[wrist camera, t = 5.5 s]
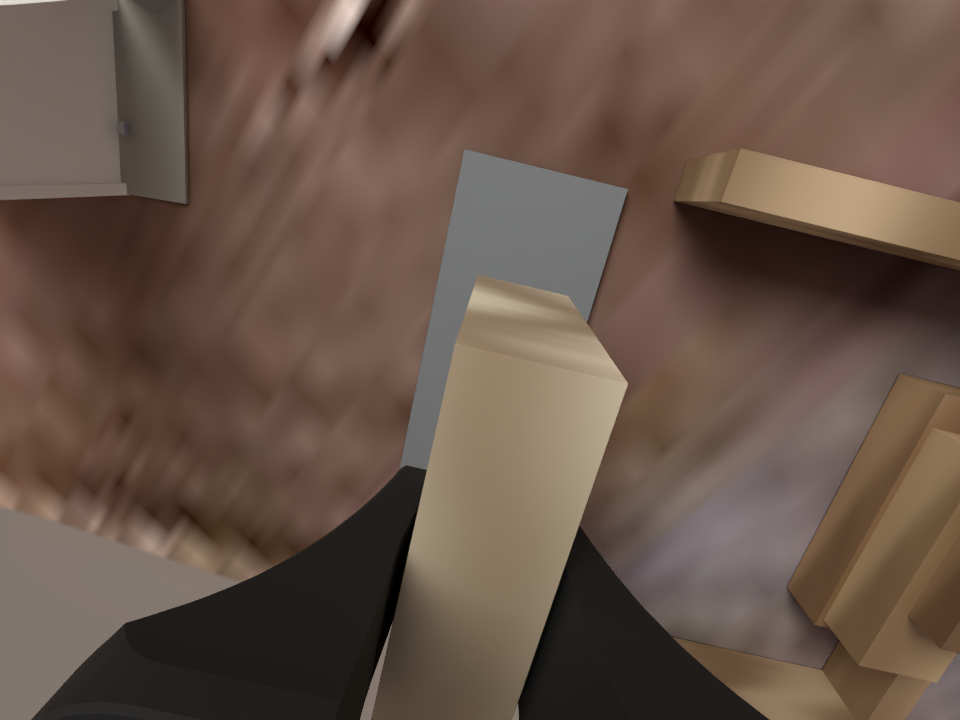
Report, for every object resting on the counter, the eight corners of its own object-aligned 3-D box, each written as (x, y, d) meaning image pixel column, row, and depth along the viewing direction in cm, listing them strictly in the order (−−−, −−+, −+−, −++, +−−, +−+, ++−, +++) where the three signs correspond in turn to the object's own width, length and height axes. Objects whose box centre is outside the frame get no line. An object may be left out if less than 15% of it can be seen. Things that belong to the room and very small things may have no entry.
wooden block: (567, 295, 13) (627, 382, 7) (481, 597, 16) (467, 846, 10) (478, 274, 13) (454, 343, 7) (408, 581, 16) (348, 821, 10)
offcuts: (985, 394, 17) (1168, 468, 12) (861, 604, 19) (971, 728, 15) (900, 373, 17) (1050, 440, 12) (787, 587, 19) (874, 707, 15)
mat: (625, 189, 15) (627, 189, 15) (500, 599, 20) (500, 604, 20) (465, 150, 15) (464, 149, 15) (379, 572, 20) (377, 577, 20)
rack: (1106, 263, 15) (1275, 281, 12) (836, 697, 21) (899, 791, 18) (687, 159, 15) (740, 148, 11) (529, 629, 21) (534, 713, 17)
